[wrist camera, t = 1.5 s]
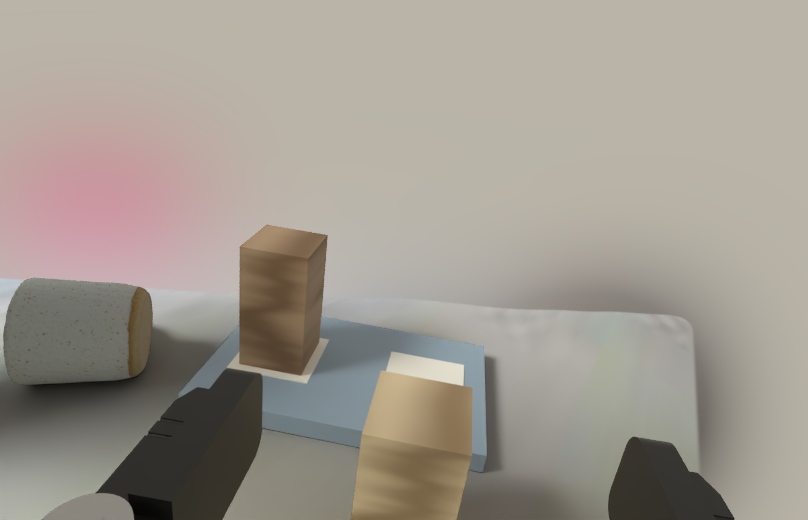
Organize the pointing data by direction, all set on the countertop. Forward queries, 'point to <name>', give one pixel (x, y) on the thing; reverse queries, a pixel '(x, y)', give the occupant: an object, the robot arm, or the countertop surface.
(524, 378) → the countertop surface
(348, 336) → the board
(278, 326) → the walnut pillar
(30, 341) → the ceramic mug
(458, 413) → the oak pillar
